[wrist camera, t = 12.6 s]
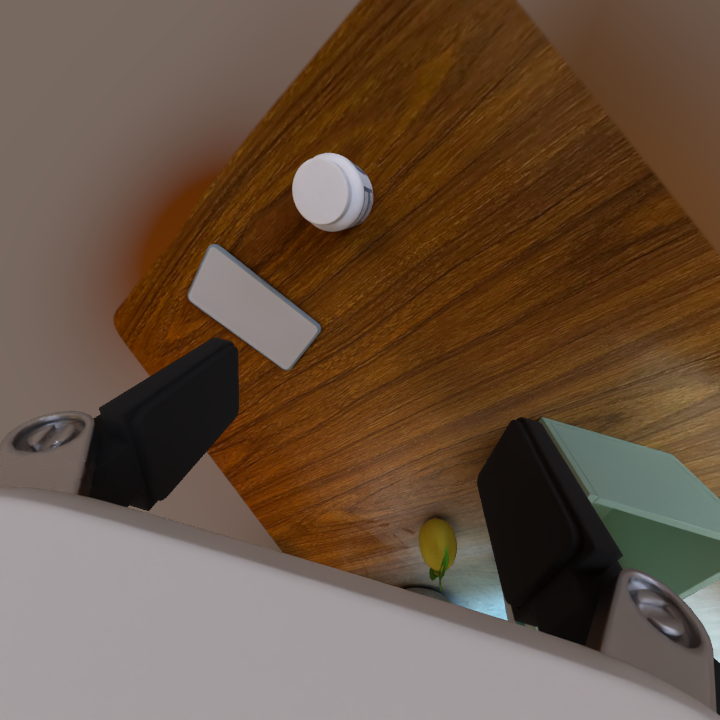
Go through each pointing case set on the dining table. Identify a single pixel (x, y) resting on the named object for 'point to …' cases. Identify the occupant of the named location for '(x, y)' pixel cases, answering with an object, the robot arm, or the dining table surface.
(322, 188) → the pill bottle
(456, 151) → the dining table surface
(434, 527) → the lemon
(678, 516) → the green box
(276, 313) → the smartphone
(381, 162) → the dining table surface
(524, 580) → the robot arm
